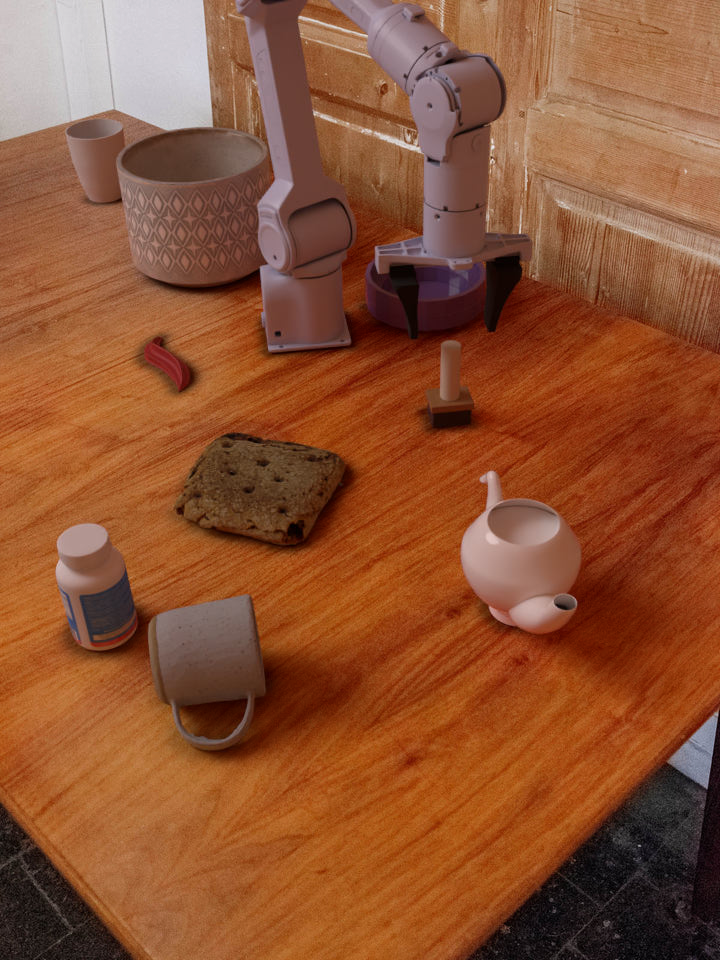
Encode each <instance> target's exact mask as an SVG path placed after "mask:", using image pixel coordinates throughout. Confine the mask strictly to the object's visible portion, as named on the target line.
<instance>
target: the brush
mask: <svg viewBox="0 0 720 960" xmlns="http://www.w3.org/2000/svg"><path fill="white" fill-rule="evenodd" d="M461 364H462V344H461V343H460V341H457V340H450V339H449V340H445V341H443V342H442V343H440V371H439V373H440V375H439V387H437V388H429V389H425V398H426V401H427V415H428V419H429V421H430V425H431V427H432V429H442V428H451V427H452V428H453V427H461V426H470V425H472V410H473V411H474V410H475V401H474V399H473V397H472V394H471V392H470V389H469V386H468V385H461V366H462V365H461Z"/></svg>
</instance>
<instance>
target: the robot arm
mask: <svg viewBox="0 0 720 960" xmlns="http://www.w3.org/2000/svg"><path fill="white" fill-rule="evenodd" d="M308 1H309V0H234V3H235V7H236V12H237V14H238V15H242V16H243V18H244V23H245V29H246V34H247V39H248V44H249V49H250V55H251V59H252V60H251V61H252V66H253V71H254V75H255V81H256V84H257V91H258V95H259V102H260V106H261V112H262V118H263V123H264V128H265V134H266V140H267V143H268V150H269V155H270V158H271V159H270V160H271V164H272V169H273V175H274V181H273V182H272V183H271V187H270V188H269V189H268V191H267V192H266V193H265V195H264V196H263V197H262V199H261V200H260V201H259V203H258V205H257V209H258V215H259V231H258V241H259V246H260V249H261V252H262V254H263V256H264V258H265V260H266V261H267V263H266V264H265V265H263V266H260V268H259V274H260V275H259V276H260V286H261V287H260V288H261V295H262V299H261V300H262V307H263V308H262V309H263V311H261V312H260V315H261V325H262V328H264V329H265V335H266V342H267V349H268V352H269V353H284V352H293V351H307V350H316V349H327V348H338V347H339V348H340V347H347V346H351V344H352V338H351V333H350V330H349V327H348V324H347V319H346V314H345V311H344V290H343V267H342V265H343V264H342V263H343V262H344V261H347V259H348V250H349V249H351V248H352V247H353V246H354V245H355V242H356V239H357V232H358V229H357V221H356V218H355V214H354V212H353V210H352V208H351V206H350V204H349V201H348V198H347V193H346V188H345V186H344V185H343V184H342V183H340V182H339V181H337V180H335V179H334V178H332V177H330V176H328V175H326V174H325V173H324V167H323V162H322V155H321V148H320V144H319V138H318V132H317V126H316V119H315V114H314V107H313V101H312V97H311V90H310V85H309V79H308V73H307V72H308V71H307V67H306V62H305V54H304V50H303V44H302V38H301V32H300V26H299V17H300V16H301V14H302V12H303V10H304V9H305V7H306V5H307V4H308ZM327 1H328V2H329V3H330V4H332V6H334V7H335V8H336V9H337V10H338V11H340V12H341V13H342V15H344V16H345V17H346V18H347V19H349V20H350V21H351V22H352V23H353V24H354V25H356V26H357V28H359V29H360V30H361V31H363V32H364V33H365V34H366V35H367V37H366V38H367V39H366V49H367V50H366V51H367V53H368V55H369V57H370V58H371V59H372V60H373V61H374V62H375V63H376V64H377V66H379V67H380V68H381V69H382V70H383V71H384V72H385V73H386V74H387V76H388V77H389V78H390V79H391V80H392V81H393V82H394V83H395V84H396V85H397V86H398V87H399V88H400V89H401V91H403V93H405V94H406V95H407V96H408V102H409V109H410V113H411V117H412V119H413V121H414V123H415V126H416V129H417V133H418V146H419V147H420V152H421V153H422V154H423V209H422V210H423V214H422V215H423V216H422V220H423V221H422V230H423V231H422V235H420V236H417V237H413V238H409V239H405V240H402V241H401V240H400V241H397V242H393V243H389V244H383V245H375V246H374V259H375V265H376V269H377V271H378V274H386V273H388V274H389V277H390V280H391V283H392V285H393V287H394V289H395V291H396V293H397V295H398V297H399V299H400V301H401V303H402V305H403V308H404V312H405V317H406V322H407V330H406V331H407V333H408V337H409V339H410V340H412V341H414V340H418V339H419V331H418V318H417V307H418V295H419V287H420V286H419V284H418V281H417V278H416V272H415V269H414V268H417V267H428V266H449V267H450V268H451V269H452V270H468V269H471V268H473V264H474V263H478V262H482V263H484V262H485V270H486V290H485V303H484V308H483V323H484V325H485V328H486V331H487V332H488V333H496V330H497V327H498V324H499V320H500V318H501V315H502V312H503V309H504V307H505V305H506V303H507V301H508V299H509V297H510V296H511V294H512V293H513V291H514V289H515V288H516V287H517V285H518V284H519V283H520V281H521V280H522V277H523V267H522V265H521V262H531V261H532V257H533V246H534V245H533V244H534V242H533V239H532V238H531V236H530V235H529V233H526V232H525V233H505V232H504V233H502V232H491V231H489V232H487V230H486V228H487V227H486V226H487V208H488V192H489V191H488V190H489V170H490V169H489V167H490V152H491V151H490V150H491V149H490V147H491V127H492V125H491V123H493V122H495V121H497V120H499V118H500V117H501V116H502V115H503V114H504V111H505V109H506V106H507V100H508V90H507V84H506V80H505V77H504V74H503V72H502V71H501V69H500V67H499V66H498V65H497V64H496V62H495V61H494V59H493V58H492V56H491V55H489V54H487V53H485V52H474V53H472V52H470V51H469V50H468V49H460V48H459V46H457V45H456V43H455V42H454V41H452V40H451V39H450V38H449V37H448V36H447V35H446V34H445V33H444V32H443V31H442V30H441V28H439V27H438V26H437V25H436V24H435V23H434V22H433V21H431V19H430V18H429V17H428V16H427V15H426V10H425V9H424V8H423V7H421V5H419V3H412V2H405V1H404V2H398V3H395V2H394V1H393V0H327Z"/></svg>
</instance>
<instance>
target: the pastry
mask: <svg viewBox="0 0 720 960" xmlns="http://www.w3.org/2000/svg"><path fill="white" fill-rule="evenodd" d="M345 471H346V462H345V461H344V460H343V459H342V458H341V456H340V455H339V454H337V453H336V452H332V451H331V450H329V449H323V448H318V447H316V446H311V445H308V444H303V443H298V442H294V441H288V440H287V441H286V440H277V439H270V438H266V439H264V438H263V437H259V436H254V435H252V434H250V433H244V432H235V431H233V432H227V433H225V434H222V435H221V436H219V437H217V438H215V439H214V440H213V441H211V442H210V443H209V444H208V445H207V446H205V448H204V449H203V450H202V452H201V453H200V455H199V456H198V458H197V459H196V460H195V462H194V463H193V465H192V467H191V468H190V469H189V472H188V474H187V475H186V477H185V478H186V479H185V481H184V483H183V488H184V490H183V489H180V492H181V494H180V495H179V496H178V497H177V498H176V499H175V503H174V507H173V510H175V512H176V513H175V514H176V515H178V516H183V517H184V519H187V520H189V521H193V522H195V523H197V524H198V525H199V526H200V527H201V528H206V529H212V528H213V527H215V529H216V530H219V531H223V532H225V533H232V534H235V535H242V536H245V537H250V538H254V539H255V540H260V541H262V542H265V543H270V544H274V545H276V546H277V545H279V546H289V545H294V546H296V545H297V544H298V543H301V542H303V541H305V540H306V539H307V538H308V536H309V534H310V533H311V530H312V529H313V527H314V525H315V524H316V521H317V518H318V517H319V515H320V513H321V511H322V510H323V509H324V508H325V506H326V505H327V504H328V501H329V500H330V499H332V495H333V493H334V492H335V491H336V489H337V487H340V486H344V484H343V482H341V481H342V478H343V475H344V473H345Z"/></svg>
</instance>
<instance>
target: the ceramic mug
mask: <svg viewBox="0 0 720 960" xmlns="http://www.w3.org/2000/svg"><path fill="white" fill-rule="evenodd" d="M253 601H254V600H253V597H252V595H250V594H241V595H236V596H233V597H228V598H224V599H218V600H214V601H207V602H203V603H198V604H194V605H189V606H183V607H177V608H173V609H169V610H167V611H164V612H161V613H159V614H156V615H154V616H153V617H152V618H151V619H150V622H149V623H148V629H147V640H148V641H147V642H148V643H147V644H148V652H149V661H150V668H151V669H150V670H151V674H152V680H153V685H154V689H155V692H156V695H157V697H158V699H159V700H160V702H162V703H163V704H164V705H166V706H171V710H172V717H173V720H174V724H175V727H176V728H177V730H178V732H179V734H180V735H181V737H182V739H183V740H184V741H186V742H187V744H189V745H191V746H192V747H194V748H196V749H199V750H202V751H220V750H224V749H228V748H230V747H232V746H234V745H236V744H237V743H238V742H240V741H241V740H242V738H243V737H244V736H245V735H246V733H247V732H248V730H249V729H250V725H251V723H252V721H253V716H254V709H255V700H256V698H260V697H265V696H266V693H267V688H266V678H265V669H264V661H263V656H262V655H263V654H262V648H261V641H260V640H261V639H260V634H259V629H258V622H257V616H256V612H255V606H254V602H253ZM246 699H247V704H246V709H245V712H244V715H243V718H242V720H241V722H240V723H239V724H238V726H237V727H236V728H235V729H234V730H233V731H232V733H231V734H229V735H228V736H227V737H226V738H221V739H220V738H219V739H210V738H207V737H205V736H203V735H202V736H197V735H195V734H193V733H189V732H188V730H187V729H186V728H185V726H184V725H183V722H182V719H181V713H180V712H181V711H180V710H181V709H180V708H181V707H186V706H187V707H188V706H193V705H195V706H196V705H201V704H207V703H208V704H209V703H215V702H229V701H230V702H231V701H237V700H246Z"/></svg>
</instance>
